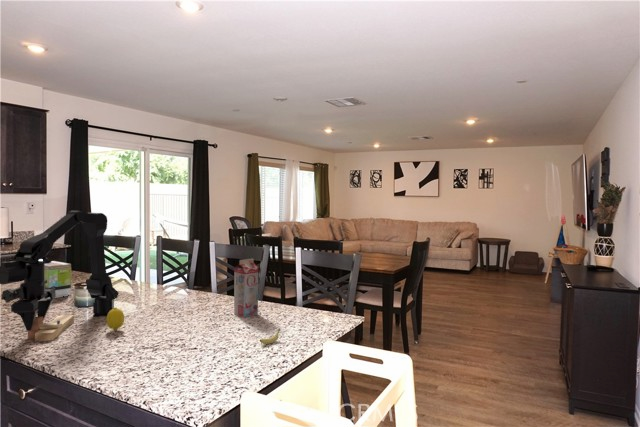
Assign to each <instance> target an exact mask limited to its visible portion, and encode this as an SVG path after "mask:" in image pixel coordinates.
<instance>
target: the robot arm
mask: <svg viewBox="0 0 640 427" xmlns="http://www.w3.org/2000/svg"><path fill="white" fill-rule="evenodd" d="M78 224H82V229H83V231H84V232H85V234H86V235H87V237H88V245H89V246H88V248H89V257H90V258H89V259H90V270H91V274H90V276H89V278H86V279H85V284H86V288H85V289H86V290H87V293H88V294H89V295H90V299H94V302H93V303H92V314H93V316H92V317H100V316H101V317H105V316H106V317H107V315H108V313H109V311H110V310H112V309H114V308H115V300H116V299H118V297H119V292H118V291H117V289H116V288H115V287H114V286H113V282H112V278H111V277H110V276H109V274H108V272H107V268H106V267H107V266H106V255H105V243H104V242H105V241H104V235H105V234H106V231H107V228H108V217H107V215H106V214H104V213H102V212H84V211H80V210H70V211H67V213H66V214H65V215H64V216H62V217H61V218H60V219H58V220H57V221H56V222H55V223H53V224H52V225H51V226H50V227H48V228H47V229H45V230H43V232H41V233H39V234H36V235H34V236H31V237H29V238H26V239H25V240H23V241H22V242H21V243H20V244H19V249H18V250H17V252H15V254H14V256H12V259H11V261H1V262H0V285H8V284H14V283H19V282H21V283H20V284H19V287H17V288H14V289H12V288H8V289H4V290H3V291H2V292H1V300H3V301H5V303H6V304H8V303H10V302H12V301H14V300H16V301H14V302H13V303H12V304H11V305H10V312H11V313H14V314H16V315H18V316H19V317H20V319H21V321H22V322H23V325H24V327H25V330H26V331H27V332H28V331H30V330H31V328H32V326H33V323H34V320H35V317H40V316H43V321H44V320H45V318H46V315H47V313H48V311H49V309H50V308H51V305H52V303H53V301H54V299H56V298H55V291H54V290H53V289H45V284H46V283H47V280H45V264H47V263H51V260H50V259H49V258H47V256H48V254H49V253H50V252H51V250H52V249H53V247H54V244H55V243H56V242H57V241H58V240H59V239H61V238H62V237H63V236H64V235H65V234H67V233H68V232H70V231H71V230H72V229H73V228H74V227H76V226H77V225H78ZM49 297H50V298H51V299H49Z"/></svg>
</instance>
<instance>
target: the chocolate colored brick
mask: <svg viewBox="0 0 640 427" xmlns="http://www.w3.org/2000/svg"><path fill="white" fill-rule="evenodd" d="M60 327H62V323H60V320H58V321H57V323H50V322H47V323H44V320H43V316H40V317H38V316H36V317H35V320H34V323H33V326H32V328H31V330H30V331H27V339H28V340H29V339H31V340H32V339H35V333H36V332H38V331H39V330H40V329H49V328H60Z"/></svg>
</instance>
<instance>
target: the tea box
mask: <svg viewBox="0 0 640 427" xmlns="http://www.w3.org/2000/svg"><path fill="white" fill-rule="evenodd" d="M50 261H51V260H50ZM45 280H47V283H46V284H45V289H53V290H54V291H55V298H54V299H58V298H63V296H64V297H68V295H69V296H72V264H71V263H67V262H62V261H57V260H52V261H51V263H47V264H45ZM49 299H51V298H50V297H49Z"/></svg>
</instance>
